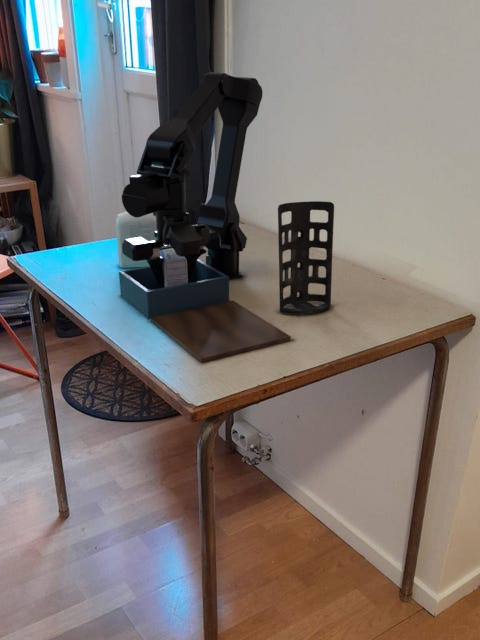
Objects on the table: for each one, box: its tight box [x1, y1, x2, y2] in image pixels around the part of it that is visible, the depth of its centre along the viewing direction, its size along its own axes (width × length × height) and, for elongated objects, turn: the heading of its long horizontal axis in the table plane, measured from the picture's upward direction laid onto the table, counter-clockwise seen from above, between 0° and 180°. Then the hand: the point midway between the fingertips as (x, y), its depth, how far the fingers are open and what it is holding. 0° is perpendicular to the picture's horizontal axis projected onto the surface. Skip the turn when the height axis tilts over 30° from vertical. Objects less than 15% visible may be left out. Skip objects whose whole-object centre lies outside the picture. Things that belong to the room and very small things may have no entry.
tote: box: [118, 258, 230, 320], centre depth 131 cm, size 18×14×5 cm
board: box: [149, 300, 292, 364], centre depth 119 cm, size 18×20×1 cm
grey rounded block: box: [115, 210, 157, 268], centre depth 147 cm, size 10×4×12 cm, turn 103°
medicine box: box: [160, 248, 188, 287], centre depth 130 cm, size 8×4×9 cm, turn 15°
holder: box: [277, 200, 335, 315], centre depth 124 cm, size 11×8×20 cm
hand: (174, 286), depth 131 cm, fingers closed on medicine box, 5 cm apart
